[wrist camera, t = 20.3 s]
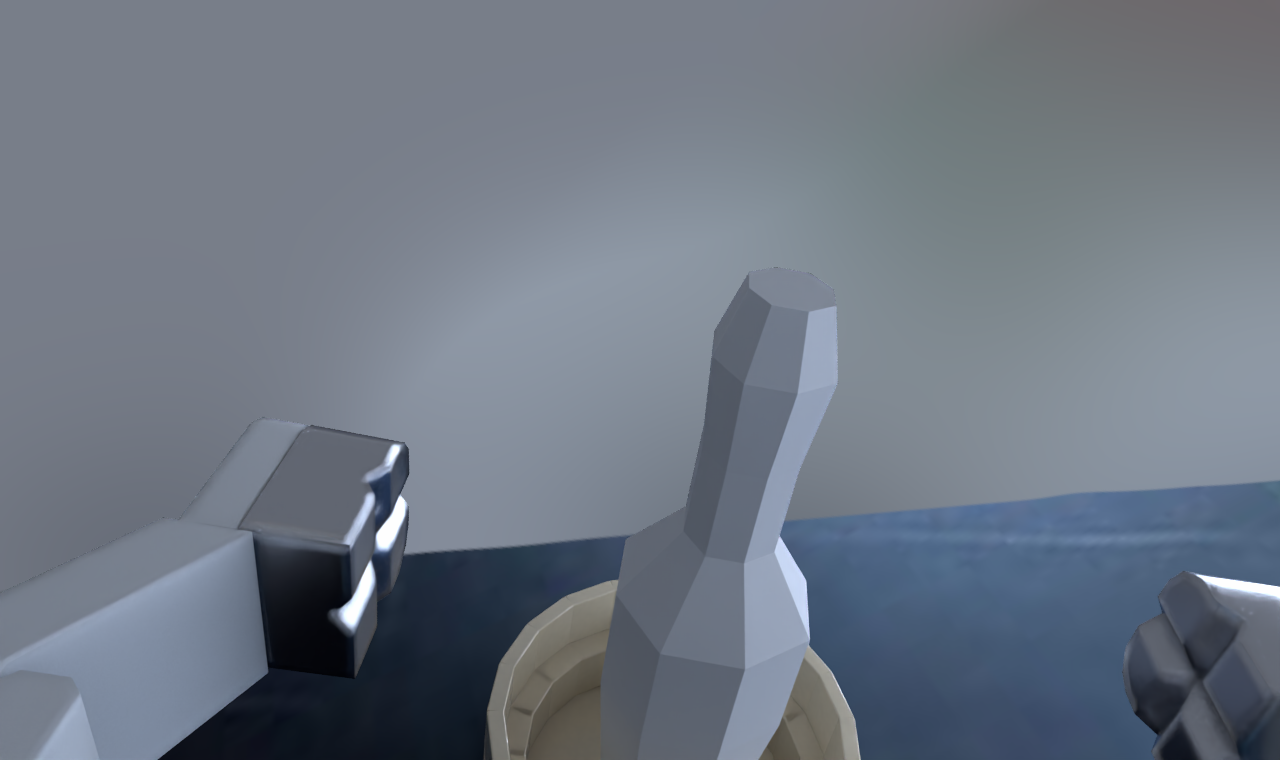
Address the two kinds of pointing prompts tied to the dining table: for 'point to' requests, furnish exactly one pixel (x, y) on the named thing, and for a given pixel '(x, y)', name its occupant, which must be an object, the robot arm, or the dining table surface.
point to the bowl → (571, 693)
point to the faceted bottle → (726, 545)
